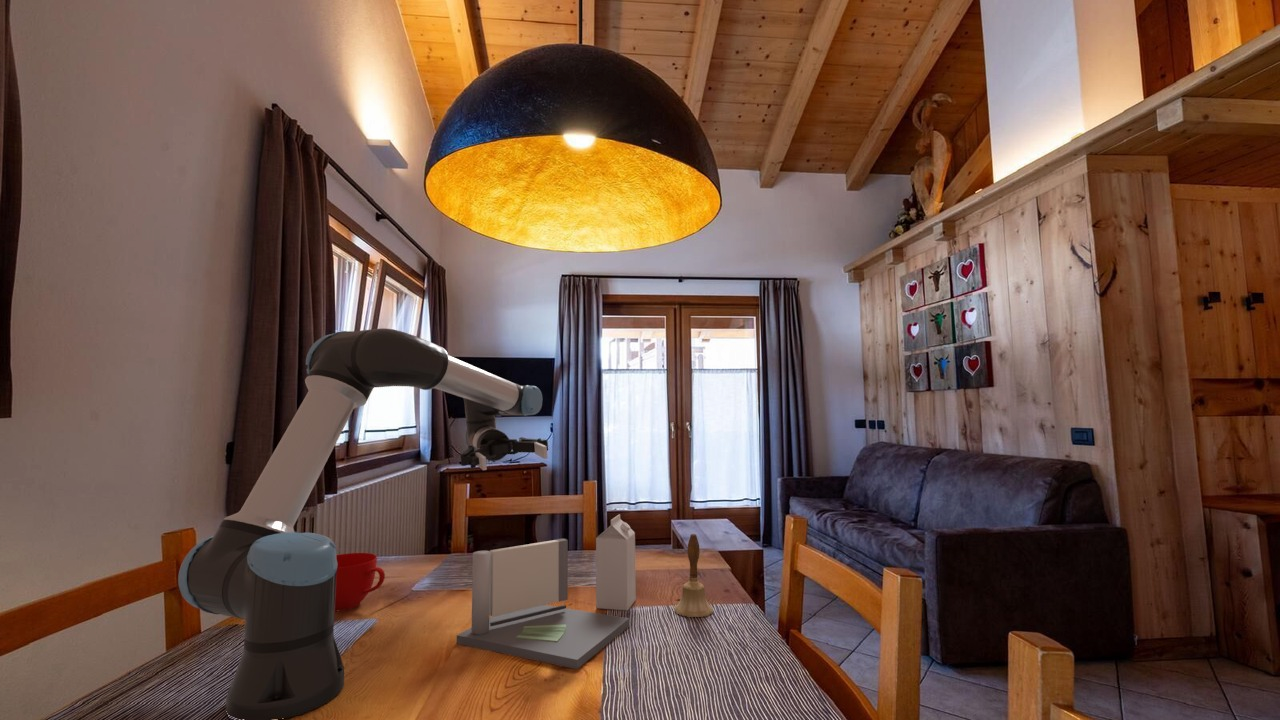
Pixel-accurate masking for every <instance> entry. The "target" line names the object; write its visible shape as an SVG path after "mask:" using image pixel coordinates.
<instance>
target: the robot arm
mask: <svg viewBox="0 0 1280 720" xmlns="http://www.w3.org/2000/svg"><path fill="white" fill-rule="evenodd" d="M305 365H306V366H307V368H306V374H307V376H306V378H305V379H304V382H305V386H306V388H307V390H308V391H307V393H306V395H305V397H304V398H303V401H302V402H301V403H300V405H299V407H298V409H297V411H296V413H295V415H294V416H293V418H292V420H291V421H290V423H289V425H288V426H287V428H286V431H285V432H284V434H283V435H282V437H281V439H280V441H279V442H278V444H277V446H276V448H275V449H274V451H273V453H272V454H271V456H270V458H269V460H268V461H267V463H266V465H265V466H264V468H263V470H262V472H261V473H260V475H259V477H258V479H257V481H256V482H255V484H254V485H253V487H252V489H251V491H250V493H249V495H248V497H247V498H246V500H245V502H244V504H242V506H241V509H240V510H239V511H238V512H236V513H234V514H231V515H228V516H226V517H224V518H223V519H222V521H221V523H220V525H219V527H218V528H217V530H216V531H215V533H214V535H212V536H210V537H208V538H206V539H204V540H202V541H200V542H198V543H197V544H196V545H194V546H193V547H192V548H191V549H190V550H189V552H188V553H187V554H186V556H185V557H184V558H183V560H182V563H181V565H180V568H179V571H178V576H177V577H178V578H177V580H178V581H177V582H178V583H177V584H178V588H179V591H180V594H181V596H182V598H183V599H184V600H185V601H186V603H188V604H189V605H190V606H193V607H194V608H196V609H199V610H201V611H202V612H205V613H206V614H207V613H208V614H213V615H222V616H225V617H230V618H231V617H232V618H235V619H241V620H245V622H244V637H243V638H244V641H243V653H242V656H241V658H240V661H239V663H238V665H237V669H236V670H235V673H234V676H233V679H232V682H231V685H230V687H229V689H228V691H227V694H226V698H225V712H226V711H227V713H228V714H229V715H230V716H233V717H235V718H239V719H245V720H271V719H282V718H286V719H290V718H293V717H297V716H300V715H303V714H306V713H308V712H310V711H313V710H315V709H318V708H319V707H321V706H323V705H324V704H326V703H328V702H330V701H332V700H333V699H334V698H335V697H337V696H338V695H339V694H340V693H341V691H342V690H343V689H344V686H345V671H346V670H345V666H344V664H343V660H342V657H341V653H340V650H339V648H338V646H337V645H338V644H337V642H336V640H335V637H334V631H335V630H334V628H335V627H334V626H335V612H336V611H335V592H336V573H337V566H338V563H337V557H336V555H337V547H336V544H335V541H333V540H332V539H331V537H330V538H329V537H328V536H326V535H323V534H319V533H313V532H308V531H307V532H298V531H295V529H294V526H295V525H296V522H297V521H298V518H299V516H300V514H301V513H302V510H303V508H304V506H305V505H306V503H307V501H308V499H309V497H310V494H311V492H312V491H313V489H314V487H315V485H316V483H317V482H318V479H319V477H320V476H321V473H322V471H323V469H324V467H325V465H326V463H327V462H328V461H329V460H328V459H329V457H330V456H331V454H332V452H333V450H334V448H335V446H336V444H337V442H338V440H339V438H340V436H341V434H342V433H343V430H344V428H345V426H346V425H347V423H348V420H349V418H350V417H351V415H352V412H354V411H353V410H355V409H357V408H360V407H363V406H365V405H366V404H367V402H368V399H369V398H370V396H371V393H372V392H373V390H374V388H385V387H386V388H387V387H388V388H389V387H409V388H417V389H420V390H424V391H428V390H433V389H435V390H439V391H442V392H445V393H447V394H451V395H454V396H456V397H460V398H462V399H463V403H464V414H465V423H466V424H465V425H466V426H465V427H466V430H465V432H464V440H465V444H467V449H465V450H464V451H463V452H462V453H461V454H460V464H461V465H460V466H462V467H464V466H465V467H466V466H467V465H468V464H470V469H475V468H476V467H479V469H481V470H482V471H487V469H488V467H487V461H491V462H496V461H500V460H502V459H504V458H505V457H506V456H508V455H516V454H518V453H528V454H529V453H531V454H533V453H534V454H535V456H537V457H540V458H542V459H548V458H549V457H548V451H549V441H548V439H541V438H526V437H519V438H518V440H517V439H514V438H513V439H510V438H509V437H508V435H507V434H506V433H505V432H503V431H501V430H500V429H497V425H496V424H497V423H496V416H525V417H527V416H534V415H536V414H538V413H540V411H541V409H542V406H543V401H544V400H543V394H542V391H541V389H540V388H539V387H537V386H536V385H529V384H526V385H520V384H518V383H515V382H512V381H510V380H508V379H505V378H503V377H500V376H498V375H496V374H493V373H491V372H488V371H486V370H485V369H481V368H480V367H477V366H474V365H473V364H470V363H468V362H465V361H463V360H460V359H459V358H456V357H454V356H451V355H450V354H448V352H447V350H446V349H445V348H444V347H442V346H440V345H438V344H436V343H434V342H431V341H428V340H426V339H424V338H421V337H419V336H417V335H413V334H411V333H407V332H405V331H402V330H401V331H400V330H397V329H392V328H383V327H381V328H374V329H364V330H354V331H353V330H351V331H349V330H342V331H337V332H333V333H331V334H327V335H324V336H321V337H320V338H319V339H317V340H316V341H315V342H314V343H313V344H312V345H311V347H310V348H309V350H308V352H307V354H306V358H305ZM337 694H338V695H337ZM282 720H283V719H282Z"/></svg>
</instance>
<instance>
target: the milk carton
mask: <svg viewBox="0 0 1280 720" xmlns="http://www.w3.org/2000/svg"><path fill="white" fill-rule="evenodd" d="M595 566H596V567H595V569H596V570H595V576H596V577H595V588H596V590H595V593H596V595H595V600H596V603H595V606H596V609H602V610H615V611H629V610H630V609H631V607H632V606H633V604H634V603H635V602H636V600H637V599H636V598H637V597H636V532H635V531H634V530H633V529H632V528H631V526H630V525H629V524H628V523H627V522H625V521H623V520H622V519H621V514H620V513H619V514H618V515H616V516H615V517H613V518H612V519H610V525H609V526H608V527H607V528H606V529H605V530H603V532H601V533H600V534H599V535H597V537H596V538H595ZM628 609H629V610H628Z"/></svg>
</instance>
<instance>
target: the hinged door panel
mask: <svg viewBox="0 0 1280 720" xmlns="http://www.w3.org/2000/svg"><path fill="white" fill-rule="evenodd" d="M568 541H569V540H568V539H567V538H557V539H553V540H547V541H540V542H534V543H529V544H523V545H522V544H521V545H515V546H509V547H503V548H496V549H490V550H477V551H474V552H472V577H471V579H472V580H471V581H472V582H471V583H472V584H471V585H472V586H471V588H472V589H471V594H472V595H471V628H472V632H471V633H472V634H475V635H481V634H485V633H487V632H489V618H490V616H491V617H494V616H498V615H503V614H507V613H511V612H516V611H520V610H524V609H529V608H533V607H537V606H542V605H549V604H553V603H554V604H555V603H558V602H559V603H560V602H563V601H567V600H568V599H569V598H568V592H569V590H568V588H569V587H568V586H569V585H568V582H569V581H568V580H569V578H568V577H569V576H568V573H569V572H568V571H569V569H568V567H569V565H568V562H569V560H568V559H569V558H568V557H569V555H568V554H569V553H568V549H569V548H568V546H569V545H568V543H569V542H568ZM565 608H567V605H566V604H562V605H558V606H555V607H553V608H549V609H544V610H540V611H536V612H532V613H528V614H523V615H519V616H515V617H511V618H507V619H502V620H498V621H494V622H490V626H495V625H499V624H503V623H507V622H512V621H516V620H520V619H524V618H528V617H532V616H536V615H540V614H545V613H549V612H553V611H557V610H561V609H565Z"/></svg>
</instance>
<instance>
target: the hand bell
mask: <svg viewBox="0 0 1280 720" xmlns="http://www.w3.org/2000/svg"><path fill="white" fill-rule="evenodd" d="M687 558H688V561H689V580H688V582H685V583H684V584H683V585H682V592H681V598H680V599H679V602H678V603H677V604H675V606H674V610H675V611H674V612H675V613H676V614H677V615H678V614H679V616H681V615H682V616H681V617H684V616H687V617H686V618H690V617H701V618H704V617H703V616H707V617H709V616H711V615H713V613H714V609H713V607H712V606H711V604H709V602H708V600H707V598H706V591H705V587H704V584H703V583H701V582H699V580H698V575H699V574H698V563H699V562H698V561H699V559H700V542H699V540H698V537H697V534H695V533H690V536H689V540H688V543H687ZM712 612H713V613H712ZM710 614H711V615H710ZM708 615H709V616H708Z"/></svg>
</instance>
